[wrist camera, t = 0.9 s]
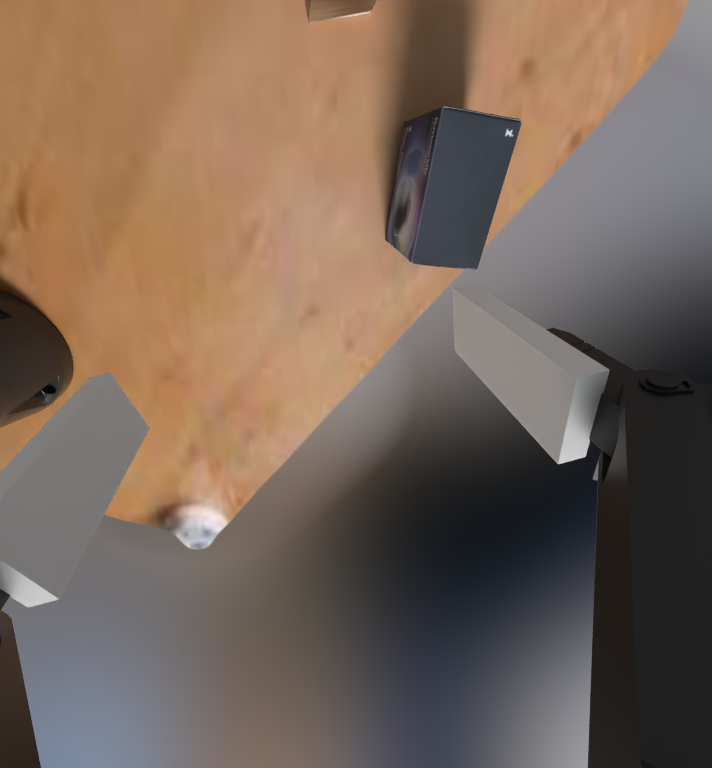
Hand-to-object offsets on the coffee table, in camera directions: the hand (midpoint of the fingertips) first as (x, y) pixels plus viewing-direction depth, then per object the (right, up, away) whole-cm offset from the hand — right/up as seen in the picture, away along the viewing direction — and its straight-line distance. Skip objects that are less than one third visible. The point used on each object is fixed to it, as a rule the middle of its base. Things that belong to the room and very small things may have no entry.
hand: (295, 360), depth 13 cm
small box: (+9, +19, +21) cm, 30 cm away
